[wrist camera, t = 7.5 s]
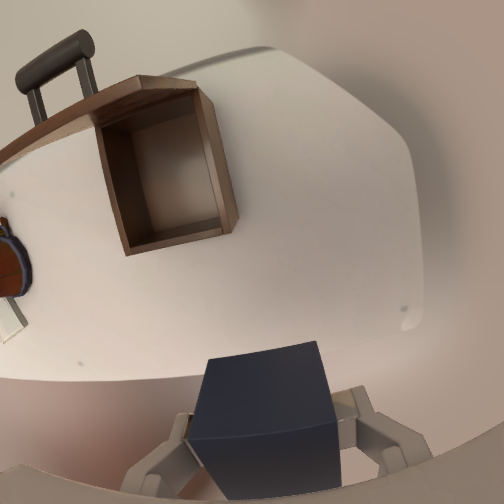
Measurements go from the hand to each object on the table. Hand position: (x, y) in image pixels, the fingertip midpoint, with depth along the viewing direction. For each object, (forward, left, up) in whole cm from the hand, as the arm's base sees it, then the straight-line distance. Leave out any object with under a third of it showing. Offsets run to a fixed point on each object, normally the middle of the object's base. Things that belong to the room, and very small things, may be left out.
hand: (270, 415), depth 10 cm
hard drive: (+44, -31, -28) cm, 61 cm away
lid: (-3, -18, -12) cm, 21 cm away
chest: (0, -14, -28) cm, 31 cm away
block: (0, 0, -2) cm, 2 cm away
